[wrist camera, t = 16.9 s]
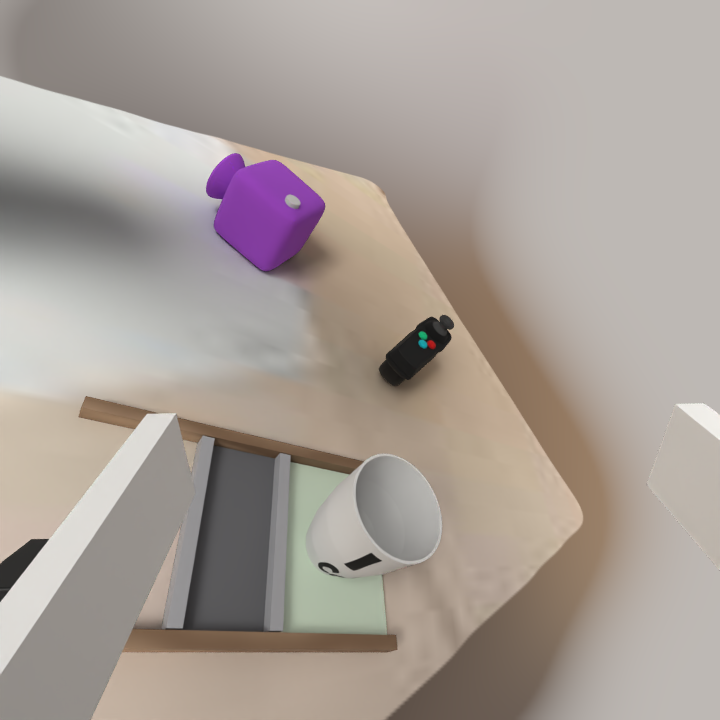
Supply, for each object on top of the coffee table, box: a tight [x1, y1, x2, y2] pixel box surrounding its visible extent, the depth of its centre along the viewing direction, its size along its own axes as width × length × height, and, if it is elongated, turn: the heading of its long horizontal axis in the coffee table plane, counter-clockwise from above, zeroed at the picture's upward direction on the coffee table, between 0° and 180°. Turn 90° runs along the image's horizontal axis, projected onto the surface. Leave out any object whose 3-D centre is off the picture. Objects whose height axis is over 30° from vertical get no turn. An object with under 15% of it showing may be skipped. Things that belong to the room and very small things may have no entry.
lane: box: [79, 396, 397, 652], centre depth 34 cm, size 16×27×2 cm, turn 95°
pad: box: [281, 462, 387, 635], centre depth 39 cm, size 14×10×1 cm
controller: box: [379, 315, 454, 386], centre depth 54 cm, size 4×12×10 cm, turn 144°
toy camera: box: [206, 153, 325, 271], centre depth 54 cm, size 11×14×10 cm
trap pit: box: [161, 436, 291, 632], centre depth 34 cm, size 14×8×2 cm, turn 5°
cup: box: [306, 454, 442, 578], centre depth 35 cm, size 8×8×10 cm
